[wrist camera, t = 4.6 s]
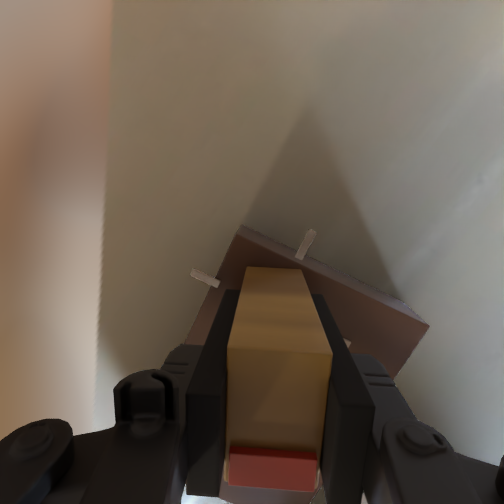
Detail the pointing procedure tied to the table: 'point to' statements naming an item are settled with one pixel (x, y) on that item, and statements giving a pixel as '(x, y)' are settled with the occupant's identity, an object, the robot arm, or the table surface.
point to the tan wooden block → (275, 384)
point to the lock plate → (341, 307)
